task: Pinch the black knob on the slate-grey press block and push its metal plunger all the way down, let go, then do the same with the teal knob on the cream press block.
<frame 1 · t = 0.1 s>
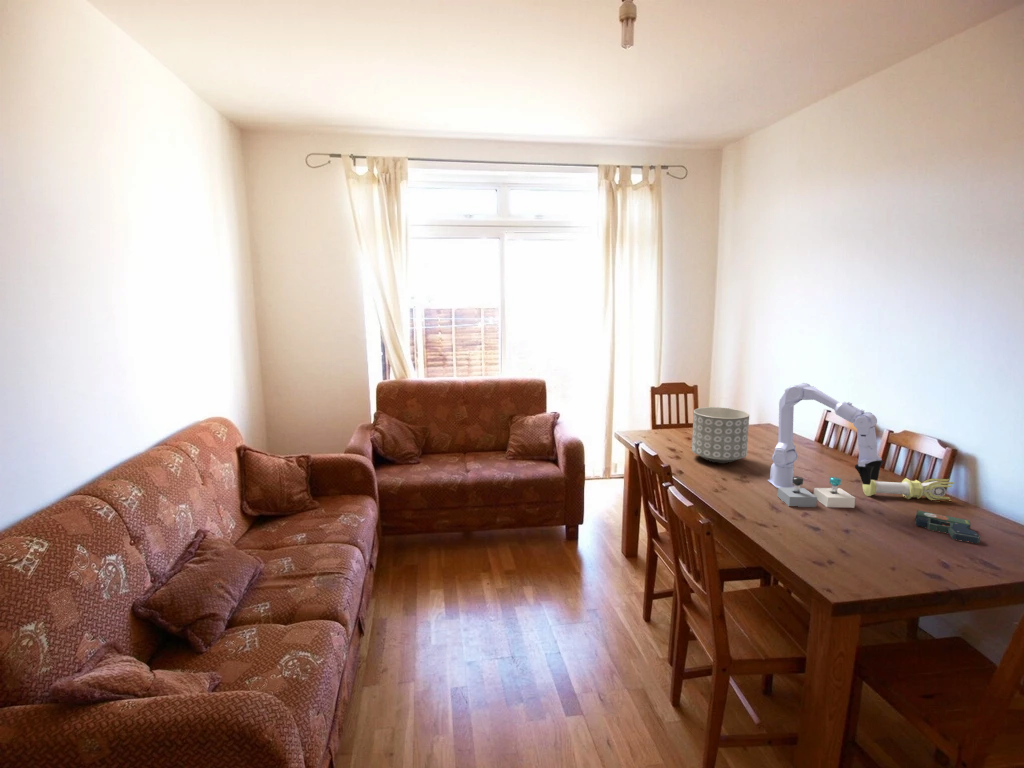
hand: (870, 482, 192), 11 cm above the table, tool pointing down, fingers open, 7 cm apart
gun: (945, 532, 175), on the table
yellow toy scepter: (905, 498, 204), on the table
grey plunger: (797, 485, 200), point 6 cm above the table, slide at 0.0 cm
cream press block: (833, 502, 200), on the table
planter: (718, 460, 254), on the table
teal round knob: (834, 486, 199), point 6 cm above the table, slide at 0.0 cm
grey press block: (796, 501, 201), on the table
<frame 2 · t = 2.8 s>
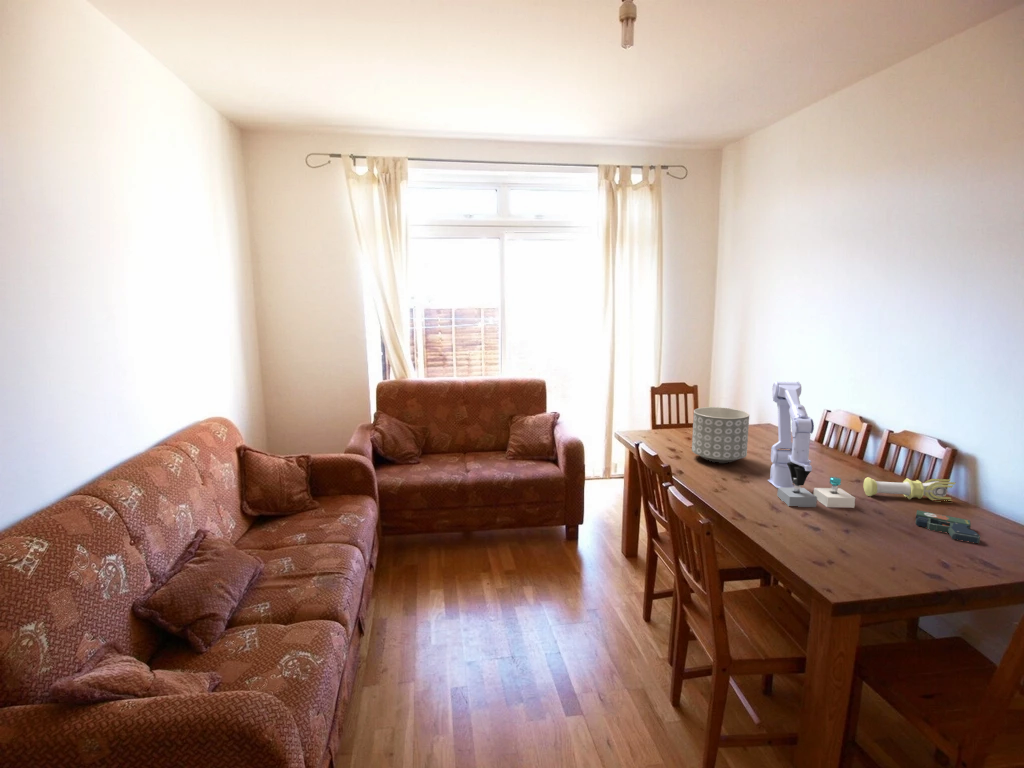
hand: (797, 483, 199), 8 cm above the table, tool pointing down, fingers closed on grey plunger, 4 cm apart
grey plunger: (797, 485, 200), point 6 cm above the table, slide at 0.0 cm, touching gripper
everything else where it was.
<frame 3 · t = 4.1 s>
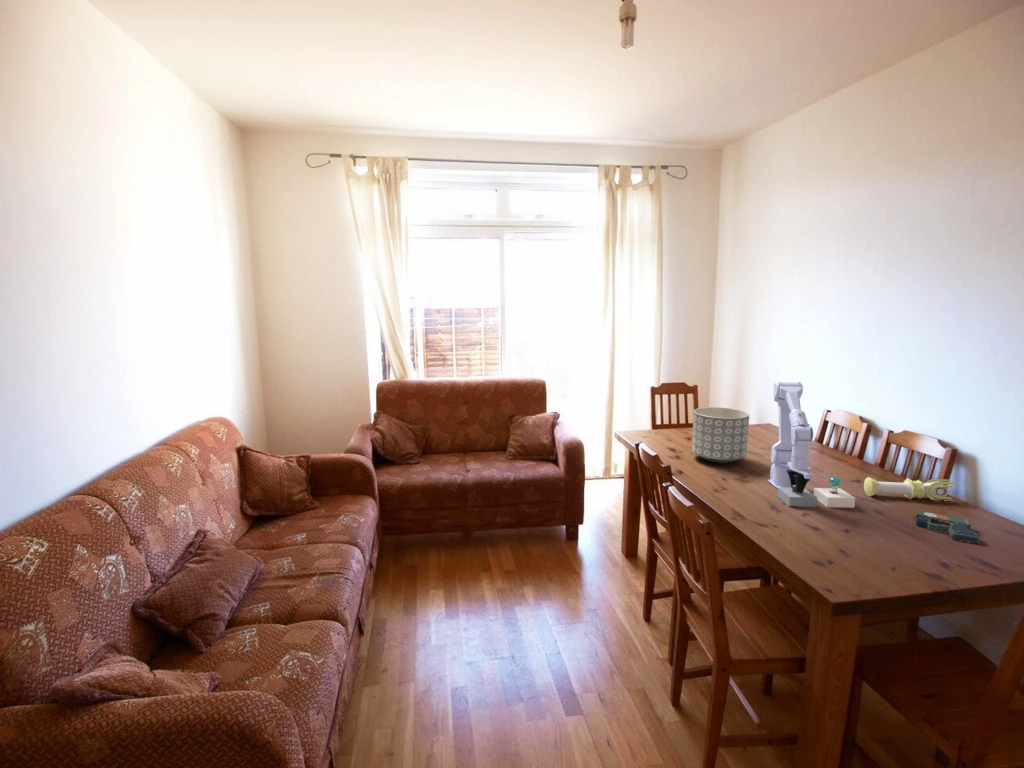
hand: (797, 490, 200), 5 cm above the table, tool pointing down, fingers closed on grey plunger, 3 cm apart
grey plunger: (796, 493, 200), point 4 cm above the table, slide at 3.0 cm, touching gripper
everything else where it was.
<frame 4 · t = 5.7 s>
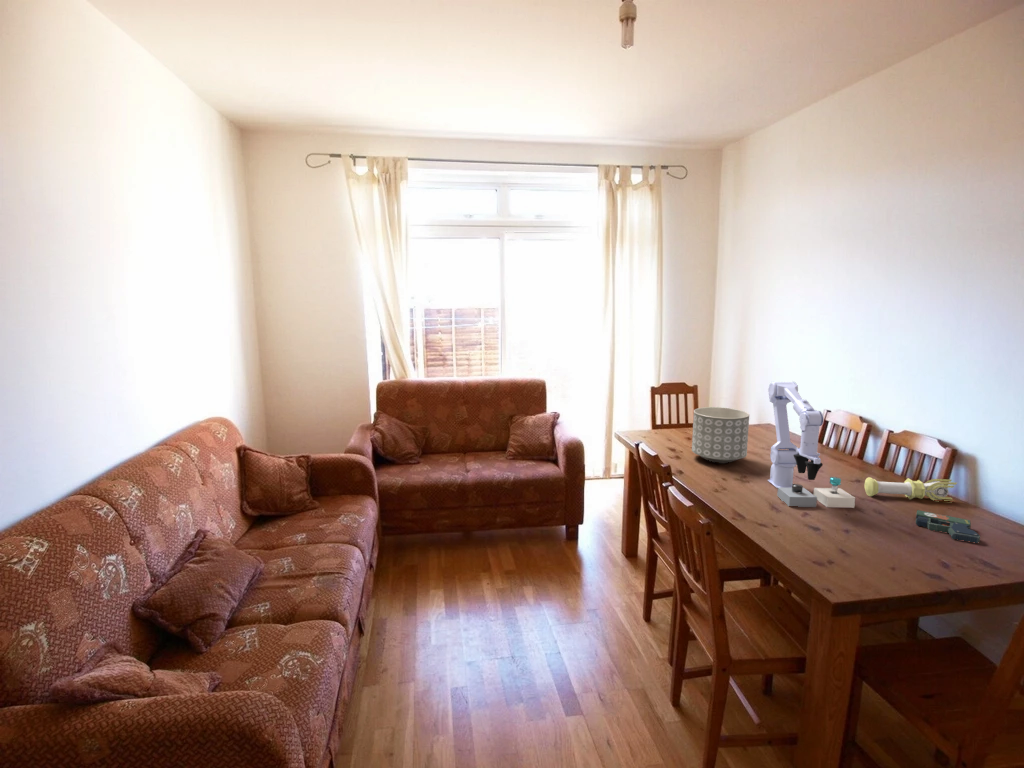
hand: (806, 476, 199), 10 cm above the table, tool pointing down, fingers open, 7 cm apart
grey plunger: (796, 493, 200), point 4 cm above the table, slide at 3.0 cm
everything else where it was.
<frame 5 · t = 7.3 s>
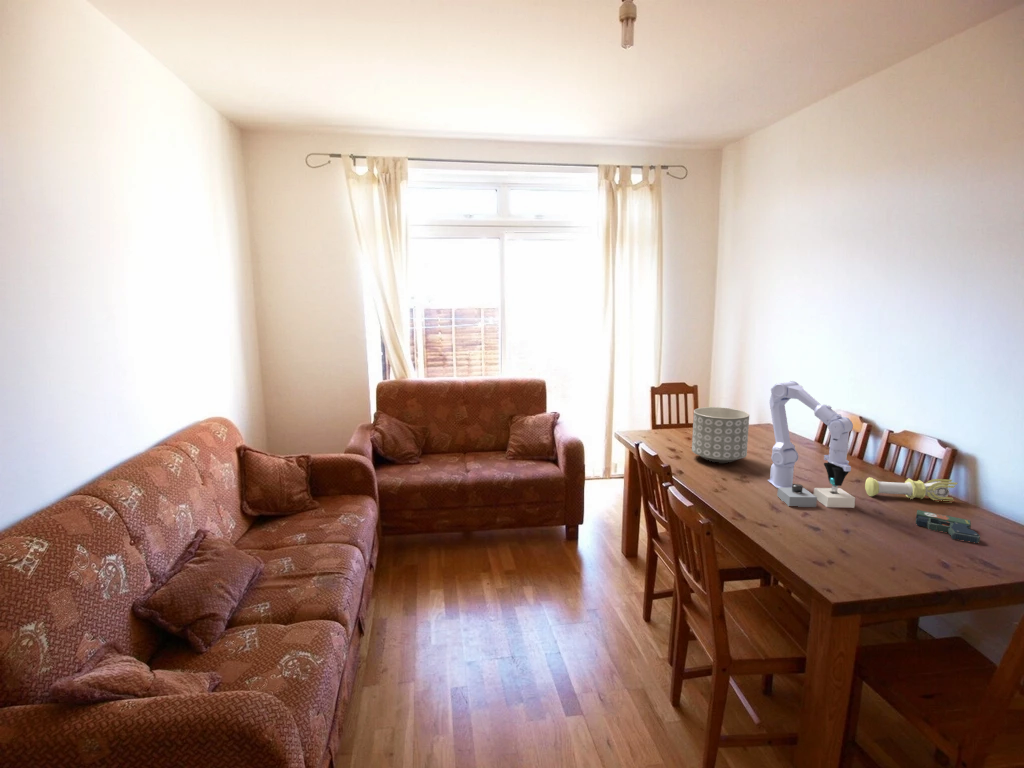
hand: (835, 483, 199), 8 cm above the table, tool pointing down, fingers closed on teal round knob, 4 cm apart
teal round knob: (834, 486, 199), point 6 cm above the table, slide at 0.0 cm, touching gripper
everything else where it was.
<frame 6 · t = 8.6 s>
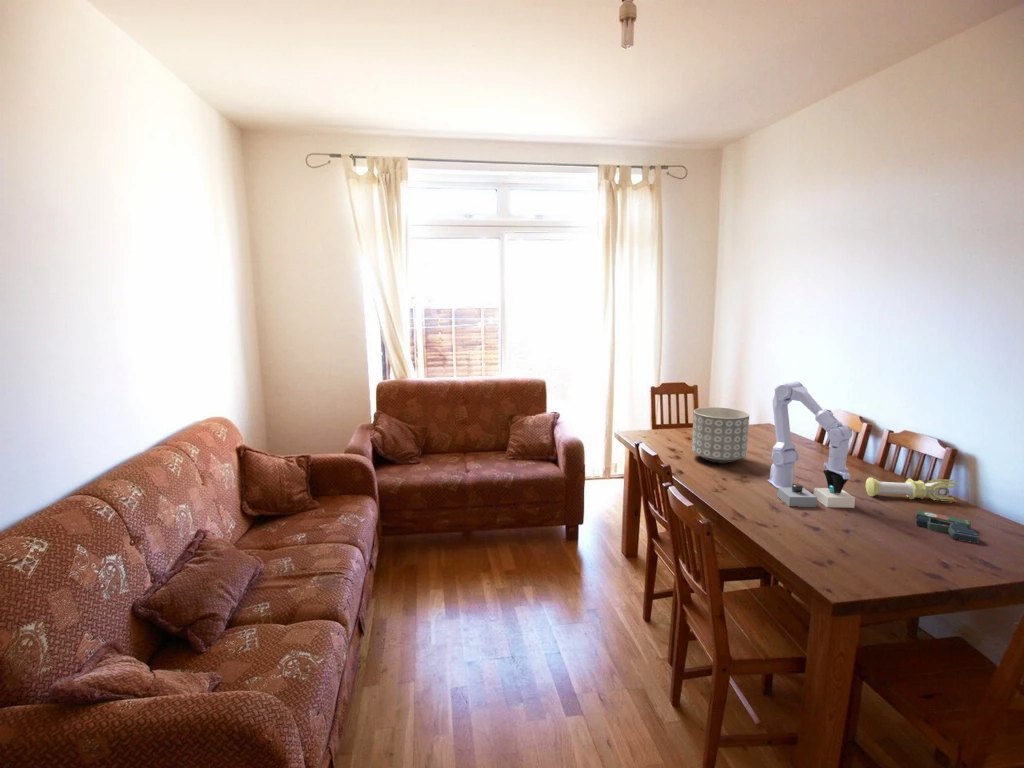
hand: (834, 490, 199), 5 cm above the table, tool pointing down, fingers closed on teal round knob, 3 cm apart
teal round knob: (834, 493, 199), point 4 cm above the table, slide at 3.0 cm, touching gripper
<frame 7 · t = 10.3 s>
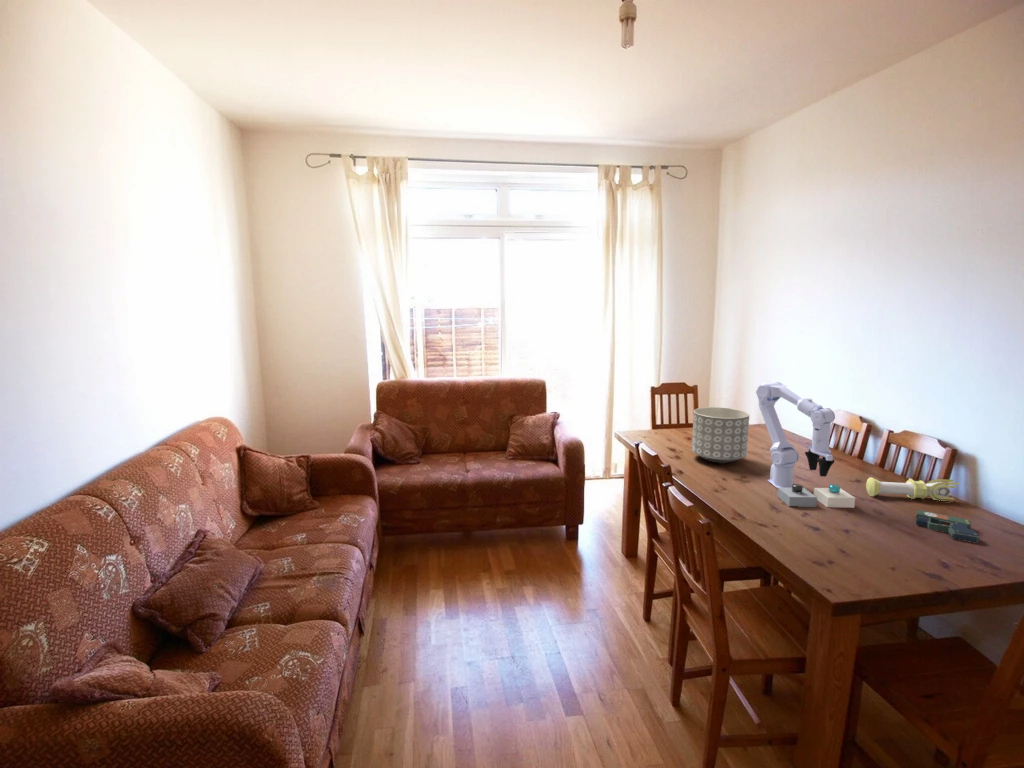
hand: (817, 472, 203), 10 cm above the table, tool pointing down, fingers open, 7 cm apart
teal round knob: (834, 493, 199), point 4 cm above the table, slide at 3.0 cm
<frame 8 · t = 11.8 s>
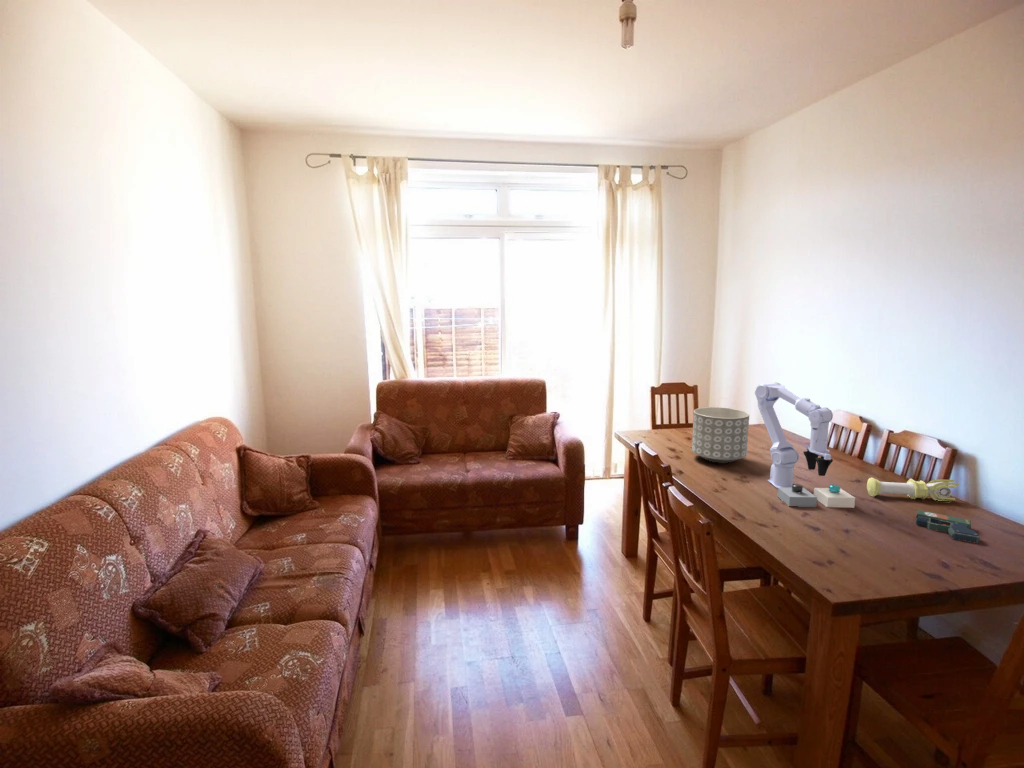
hand: (816, 472, 203), 10 cm above the table, tool pointing down, fingers open, 7 cm apart
at the end: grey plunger slide at 3.0 cm; teal round knob slide at 3.0 cm; the gripper is holding nothing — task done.
